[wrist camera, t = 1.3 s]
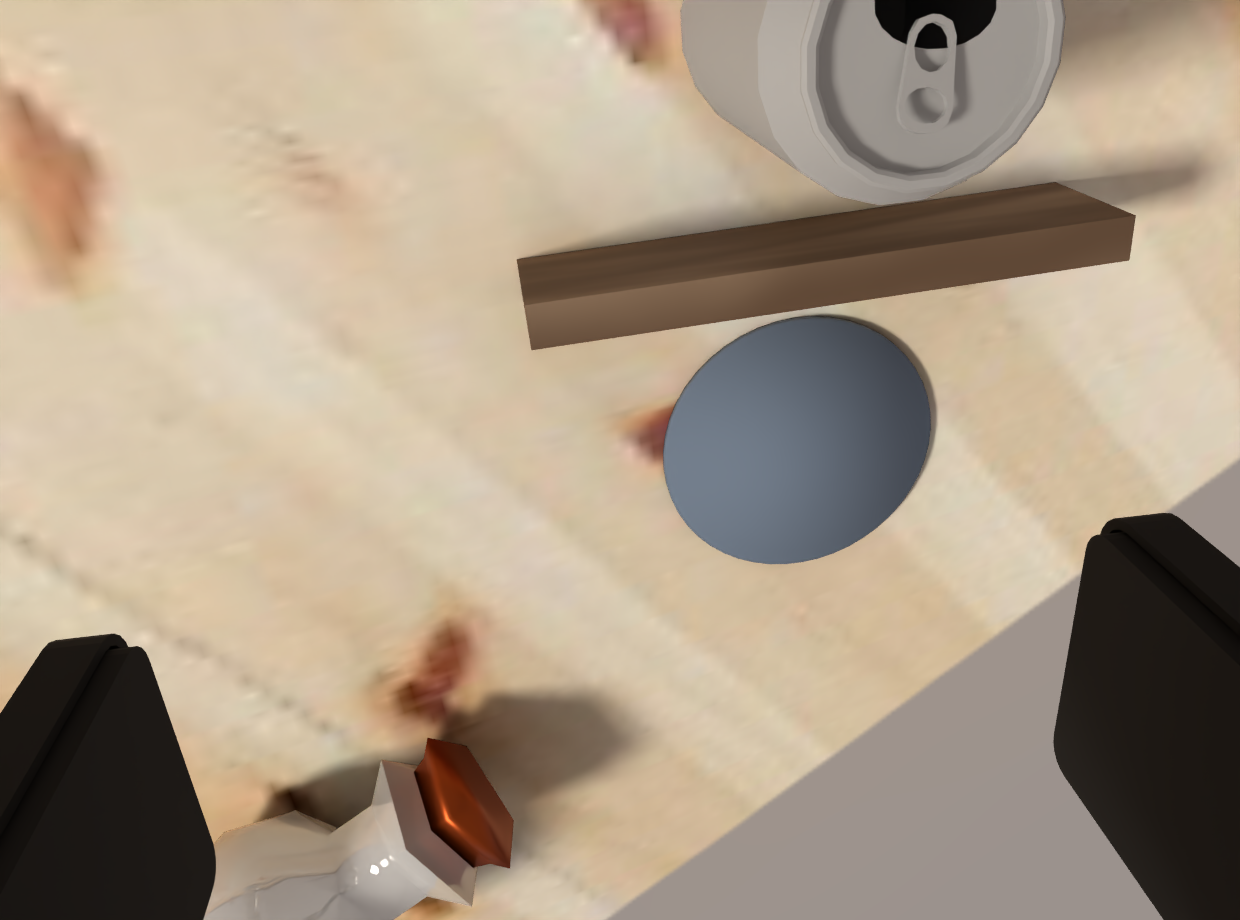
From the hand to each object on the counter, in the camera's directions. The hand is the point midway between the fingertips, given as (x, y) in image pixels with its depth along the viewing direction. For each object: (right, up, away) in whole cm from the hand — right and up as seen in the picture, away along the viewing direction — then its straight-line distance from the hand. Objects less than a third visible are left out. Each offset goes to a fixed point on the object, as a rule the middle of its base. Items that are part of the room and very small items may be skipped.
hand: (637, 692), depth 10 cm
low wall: (+6, +10, +26) cm, 29 cm away
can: (+5, +17, +23) cm, 29 cm away
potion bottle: (-13, -14, +36) cm, 41 cm away
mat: (+7, +3, +30) cm, 31 cm away
